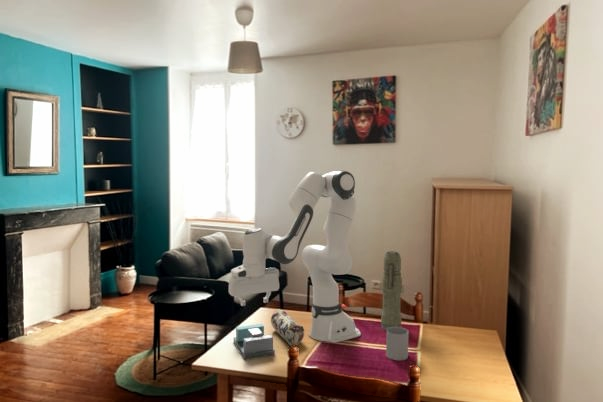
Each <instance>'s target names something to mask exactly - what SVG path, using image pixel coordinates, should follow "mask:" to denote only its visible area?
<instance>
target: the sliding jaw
mask: <svg viewBox="0 0 603 402" xmlns="http://www.w3.org/2000/svg"><path fill="white" fill-rule="evenodd" d="M253 328H258V329H259V330H260V331H261V332H262V336H264V335H265V326H264V324H263V323H258V324H257V323H256V324H251V325H250V324H249V325H244V326H243V325H242V326H236V327H235V337H236V340H237V341H238V342H240V341H244V338H248V329H253Z"/></svg>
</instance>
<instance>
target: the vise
mask: <svg viewBox="0 0 603 402" xmlns="http://www.w3.org/2000/svg"><path fill="white" fill-rule="evenodd" d="M233 344H234V346H235V347H236V349H237V350H238V351H239V353H240V355H241V357H242V356H243V357H242V359H243V360H244V361H247V360H253V359H254V360H255V359H258V358H259V359H260V358H265V357H270V356H271V357H272V356H275V355H276V353H275V348H274V337H273V336H272V334H267V335H265V334H264V336H258V337H251V338H244V341H240V342H238V341H237V340H236V336H235V337H233Z"/></svg>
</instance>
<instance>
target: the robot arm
mask: <svg viewBox="0 0 603 402" xmlns="http://www.w3.org/2000/svg"><path fill="white" fill-rule="evenodd" d="M355 180H356V179H355V176H354V175H353V174H352V173H351V172H349V171H347V170H336V171H335V170H334V171H330V172H327V173H322V174H321V173H318V172H315V171H310V172H308V173H307V174H306V175H305V176H303V178H302V179H300V181H299V183H298V184H297V185H296V186H295V188H294V189H293V191H292V193H291V194H290V197H289V198H288V199H289V200H288V204H289V207H290V209H291V211H292V212H293V213H294V214H295V217H294V221H293V223H292V224H291V226H290V228H289V230H288V232H287V234H285V235H284V236H280V235H276V234H272V233H270V232H267V231H266V230H264V229H263V227H262V228H261V227H252V228H249V229H246V231H245V232H244V235H243V238H242V255H243V258H242V259H243V260H242V264H241V265H238V266H236V267H234V268H232V269H230V273H231V276H230V278H229V280H228V281H229V282H228V294H229V295H230V296H231V297H236V296H237V298H238V300H239V301H240V306H241V307H245V306H246V300H243V296H244V295H245V296H246V295H253V294H254V295H255V294H261V293H265V294H266V295H265V296H264V297H262V298H263V303H264V304H266V303H269V298H270V296H271V294H272V292H277V291H279V289H280V281H279V277H280V272H279V271H280V270H279V269H278V268H276V267H267V268H266V260H267V259H271V260H274V261H276V262H278V263H280V264H282V265H289V264H291V263H293V261H295V259H296V258H297V257H298V254H299V249H300V247H301V243H302V240H303V239H304V237H305V234H306V232H307V230H308V228H309V227H310V224H311V222H312V220H313V216H314V209H315V207H316V205H317V203H318V201H319V200H320V198H321V197H322V198H330V199H331V204H330V207H329V211H328V213H327V215H326V219H325V222H324V223H323V224H324V225H323V229H322V232H323V233H324V235H325V236H326V245H322V244H309V245H306V246H305V247H304V248H303V249H302V251H301V256H300V257H301V262H302V263H303V265H304V266H305V267H306V269H307V271H308V274H309V276H310V280H311V284H312V303H311V316H312V317H311V326H310V330H309V333H308V335H309V337H310V338H311V339H314V340H317V341H321V342H327V343H332V344H335V343H340V342H343V341H344V342H345V341H348V340H350V339H354V338H358V337H361V335H362V334H361V331H360V330H359V328H357V327H356V324H355V321H354V318H352V317H351V316H350V315H349V314H347V313H346V312H345V311H346V310H347V305H346V304H344V303H341V302H339V297H340V296H339V292H340V291H339V288H340V287H339V285H338V282H337V281H336V280H335V279H334V277H333V275H335V276H337V275H338V276H340V275H347V274H348V273H349V272H350V270H351V269H352V266H353V258H352V255H351V254H350V251H349V249H348V236H349V234H350V230H351V226H352V223H353V219H354V216H355V211H356V206H357V205H356V204H357V201H356V198H355V197H354V194H355V187H356V181H355ZM344 310H345V311H344Z"/></svg>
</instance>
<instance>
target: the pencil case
mask: <svg viewBox="0 0 603 402" xmlns="http://www.w3.org/2000/svg"><path fill="white" fill-rule="evenodd" d="M270 323H271V326H272V327H273V329H274V330H275V331H276V333H278V335H279V336H280V337H282V339H284V341H285V342H287V344H288V345H290V346H292V345H297V346H298V345H299V344H301V342H302V341H303V339H304V337H305V329H304V326H301V325H300V324H298V323H296V321H295V320H294V319H293V318H292V317H291V316H289V315H288V313H287V311H285V310H282V309H280V308H279V309H276V310H275V312H274V313H273V314H272V315H271V317H270Z"/></svg>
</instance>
